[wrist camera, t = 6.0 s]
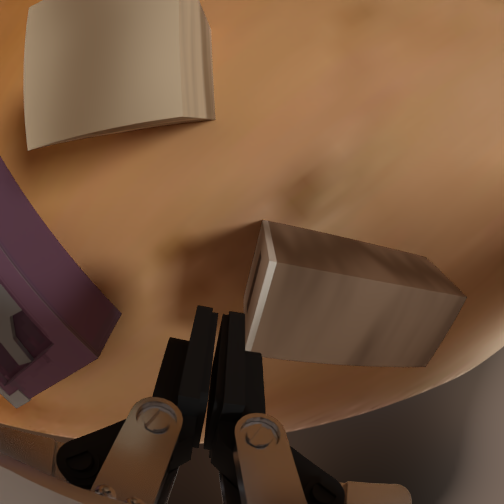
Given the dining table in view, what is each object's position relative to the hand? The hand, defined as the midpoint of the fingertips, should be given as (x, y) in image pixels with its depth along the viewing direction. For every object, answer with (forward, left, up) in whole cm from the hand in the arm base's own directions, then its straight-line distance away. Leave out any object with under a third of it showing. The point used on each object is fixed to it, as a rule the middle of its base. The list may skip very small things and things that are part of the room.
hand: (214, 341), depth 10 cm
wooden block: (-2, 0, -5) cm, 5 cm away
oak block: (+5, -9, -7) cm, 13 cm away
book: (+21, +3, -8) cm, 23 cm away
